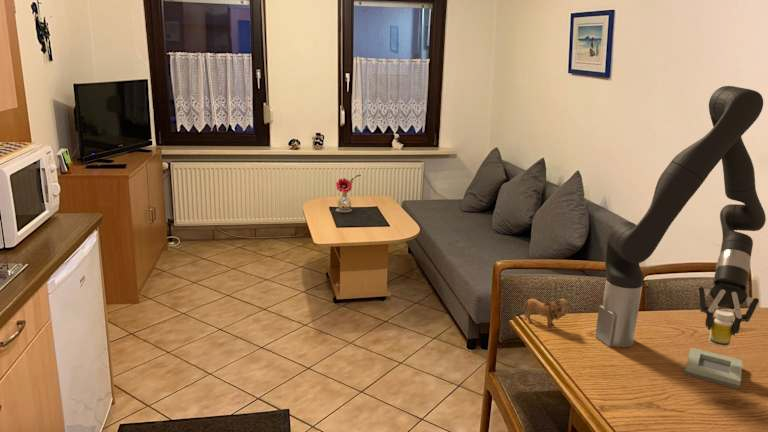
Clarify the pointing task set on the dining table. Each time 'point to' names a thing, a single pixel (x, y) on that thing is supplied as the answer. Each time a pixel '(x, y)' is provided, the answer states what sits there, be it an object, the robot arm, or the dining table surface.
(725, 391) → the dining table surface
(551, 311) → the lion figurine
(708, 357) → the recess plate
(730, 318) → the supplement bottle
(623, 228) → the robot arm
